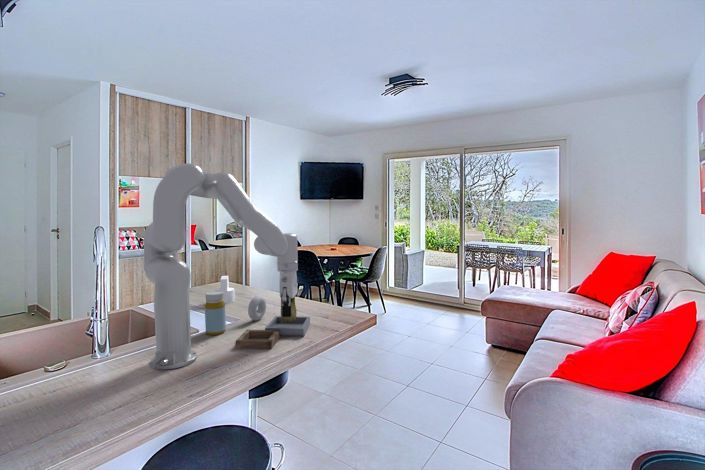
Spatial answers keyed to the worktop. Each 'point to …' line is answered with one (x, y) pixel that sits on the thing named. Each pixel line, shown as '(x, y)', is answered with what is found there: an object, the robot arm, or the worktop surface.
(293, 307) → the fennel bulb
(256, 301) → the donut
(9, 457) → the worktop surface
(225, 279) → the cylinder with rectangular tab
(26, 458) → the worktop surface
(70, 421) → the worktop surface
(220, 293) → the bottle
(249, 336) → the holder
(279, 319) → the tray
